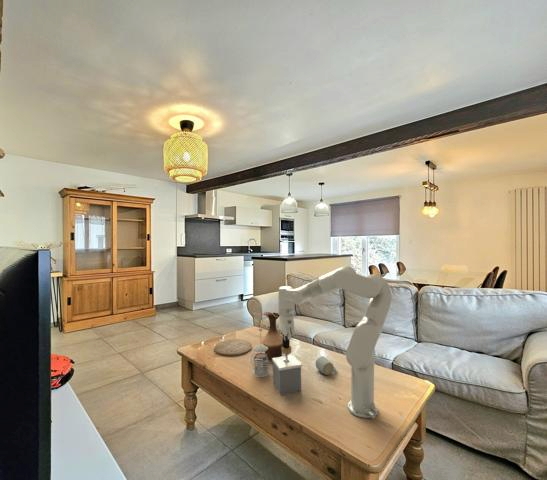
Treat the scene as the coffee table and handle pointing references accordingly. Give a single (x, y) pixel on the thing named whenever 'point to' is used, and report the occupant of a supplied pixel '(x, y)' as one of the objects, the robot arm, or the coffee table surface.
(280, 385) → the socket block
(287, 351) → the plunger
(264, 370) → the french press
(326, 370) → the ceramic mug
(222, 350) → the trivet
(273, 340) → the pitcher
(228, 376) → the coffee table surface
